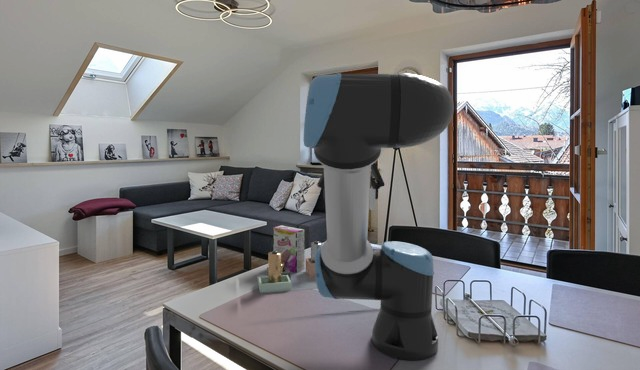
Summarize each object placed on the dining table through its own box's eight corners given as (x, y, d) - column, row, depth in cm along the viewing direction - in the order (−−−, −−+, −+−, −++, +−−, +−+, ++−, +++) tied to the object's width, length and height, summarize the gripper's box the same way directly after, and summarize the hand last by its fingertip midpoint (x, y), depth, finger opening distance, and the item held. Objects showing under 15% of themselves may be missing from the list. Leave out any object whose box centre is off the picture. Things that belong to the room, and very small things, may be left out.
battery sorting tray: (336, 289, 120) (336, 271, 119) (260, 296, 114) (260, 277, 113) (323, 272, 135) (323, 256, 134) (256, 278, 129) (256, 261, 129)
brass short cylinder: (284, 278, 125) (284, 265, 124) (273, 279, 124) (273, 266, 123) (283, 274, 128) (283, 262, 128) (272, 275, 127) (272, 262, 127)
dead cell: (323, 275, 129) (323, 242, 128) (312, 276, 128) (312, 243, 127) (320, 271, 133) (320, 239, 132) (309, 272, 132) (309, 240, 131)
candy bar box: (272, 270, 138) (272, 227, 136) (281, 267, 142) (281, 224, 140) (296, 277, 132) (296, 231, 130) (305, 273, 136) (305, 228, 134)
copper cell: (280, 284, 121) (280, 249, 120) (282, 288, 117) (281, 252, 116) (267, 285, 120) (267, 250, 119) (269, 290, 116) (269, 253, 115)
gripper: (386, 139, 116) (384, 207, 118) (307, 138, 109) (307, 210, 112) (397, 139, 109) (394, 211, 111) (313, 138, 102) (313, 214, 105)
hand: (350, 211), depth 111 cm, fingers open, 13 cm apart
